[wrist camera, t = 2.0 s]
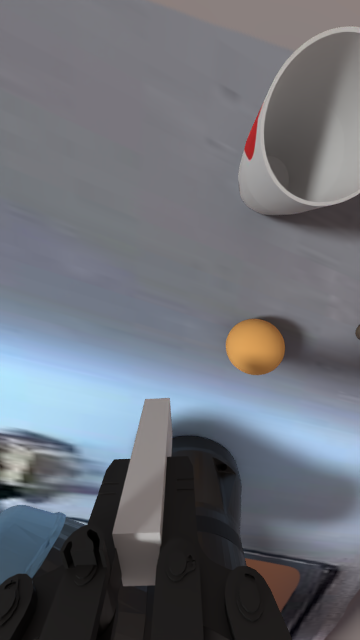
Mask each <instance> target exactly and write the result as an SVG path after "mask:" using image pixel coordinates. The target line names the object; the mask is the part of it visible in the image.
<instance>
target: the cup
mask: <svg viewBox="0 0 360 640" xmlns="http://www.w3.org/2000/svg"><path fill="white" fill-rule="evenodd" d="M238 182H239V191H240V195H241V198H242V200H243V202H244V203H245V204H246V205H247V206H248V207H249V208H250V209H252V210H254V211H256V212H258V213H261V214H265V215H290V214H297V213H301V212H305V211H309V210H314V209H318V208H322V207H326V206H330V205H334V204H337V203H341V202H344V201H346V200H348V199H350V198H352V197H354V196H356V195H358V194H359V193H360V28H359V27H339V28H334V29H331V30H328V31H325V32H323V33H320V34H318V35H316V36H315V37H313V38H311V39H310V40H308V41H307V42H305V43H304V44H303V45H302V46H300V47H299V48H298V49H297V50H296V51H295V52H294V53H293V54H292V55H291V56H290V57H289V58H288V60H287V61H286V62H285V63H284V65H283V66H282V68H281V69H280V71H279V72H278V74H277V75H276V77H275V79H274V81H273V83H272V85H271V87H270V89H269V91H268V94H267V96H266V98H265V100H264V102H263V105H262V107H261V109H260V111H259V113H258V116H257V118H256V120H255V122H254V124H253V127H252V129H251V131H250V133H249V136H248V138H247V141H246V145H245V149H244V152H243V156H242V160H241V164H240V168H239V174H238Z"/></svg>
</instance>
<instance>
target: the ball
mask: <svg viewBox="0 0 360 640" xmlns="http://www.w3.org/2000/svg"><path fill="white" fill-rule="evenodd" d="M226 351H227V355H228V357H229V359H230V361H231V362H232V364H233V365H234V366H235V367H236V368H238V369H239V370H241V371H242V372H245V373H247V374H251V375H262V374H266V373H269V372H271V371H272V370H274V369H275V368H276V367H277V366H278V365H279V364H280V363H281V361H282V359H283V357H284V353H285V343H284V339H283V337H282V335H281V333H280V332H279V330H278V329H277V328H276V327H275V326H274V325H272V324H271V323H269V322H267V321H264V320H261V319H248V320H244V321H242V322H240V323H238V324H237V325H235V326H234V327H233V328H232V330H231V331H230V333H229V334H228V337H227V340H226Z"/></svg>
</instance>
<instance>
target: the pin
mask: <svg viewBox="0 0 360 640" xmlns="http://www.w3.org/2000/svg"><path fill="white" fill-rule="evenodd" d="M356 337H357V338H358V339H360V325H359V326H358V327H357V329H356Z"/></svg>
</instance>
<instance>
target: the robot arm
mask: <svg viewBox="0 0 360 640" xmlns="http://www.w3.org/2000/svg"><path fill="white" fill-rule="evenodd" d="M240 517H241V480H240V476H239V472H238V468H237V465H236V462H235V460H234V458H233V457H232V455H231V454H230V453H229V452H228V451H227V450H226V449H225V448H224V447H223V446H221V445H220V444H218V443H216V442H214V441H212V440H209V439H206V438H202V437H196V436H181V437H175V438H172V422H171V409H170V398H161V399H145V402H144V406H143V410H142V414H141V418H140V422H139V426H138V430H137V435H136V439H135V443H134V447H133V451H132V455H131V459H114V461H113V462H112V463H111V465H110V466H109V467H108V469H107V470H106V473H105V476H104V478H103V481H102V485H101V487H100V490H99V494H98V496H97V499H96V502H95V505H94V507H93V510H92V513H91V516H90V519H89V522H88V525H84V524H82V523H79V522H77V521H74V520H71V519H69V518H66V515H65V514H63V513H60V512H58V513H51V512H47V511H44V510H40V509H37V508H33V507H30V506H26V505H17V506H13V507H10V508H8V509H6V510H4V511H2V512H1V513H0V640H292V638H291V636H290V633H289V631H288V629H287V627H286V624H285V622H284V620H283V617H282V615H281V613H280V610H279V608H278V606H277V604H276V601H275V599H274V597H273V595H272V592H271V590H270V588H269V587H268V585H267V583H266V581H265V580H264V578H263V577H262V576H261V575H260V574H259V573H258V572H257V571H256V570H254V569H252V568H250V567H248V566H246V561H245V557H244V553H243V548H242V543H241V538H240Z"/></svg>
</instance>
